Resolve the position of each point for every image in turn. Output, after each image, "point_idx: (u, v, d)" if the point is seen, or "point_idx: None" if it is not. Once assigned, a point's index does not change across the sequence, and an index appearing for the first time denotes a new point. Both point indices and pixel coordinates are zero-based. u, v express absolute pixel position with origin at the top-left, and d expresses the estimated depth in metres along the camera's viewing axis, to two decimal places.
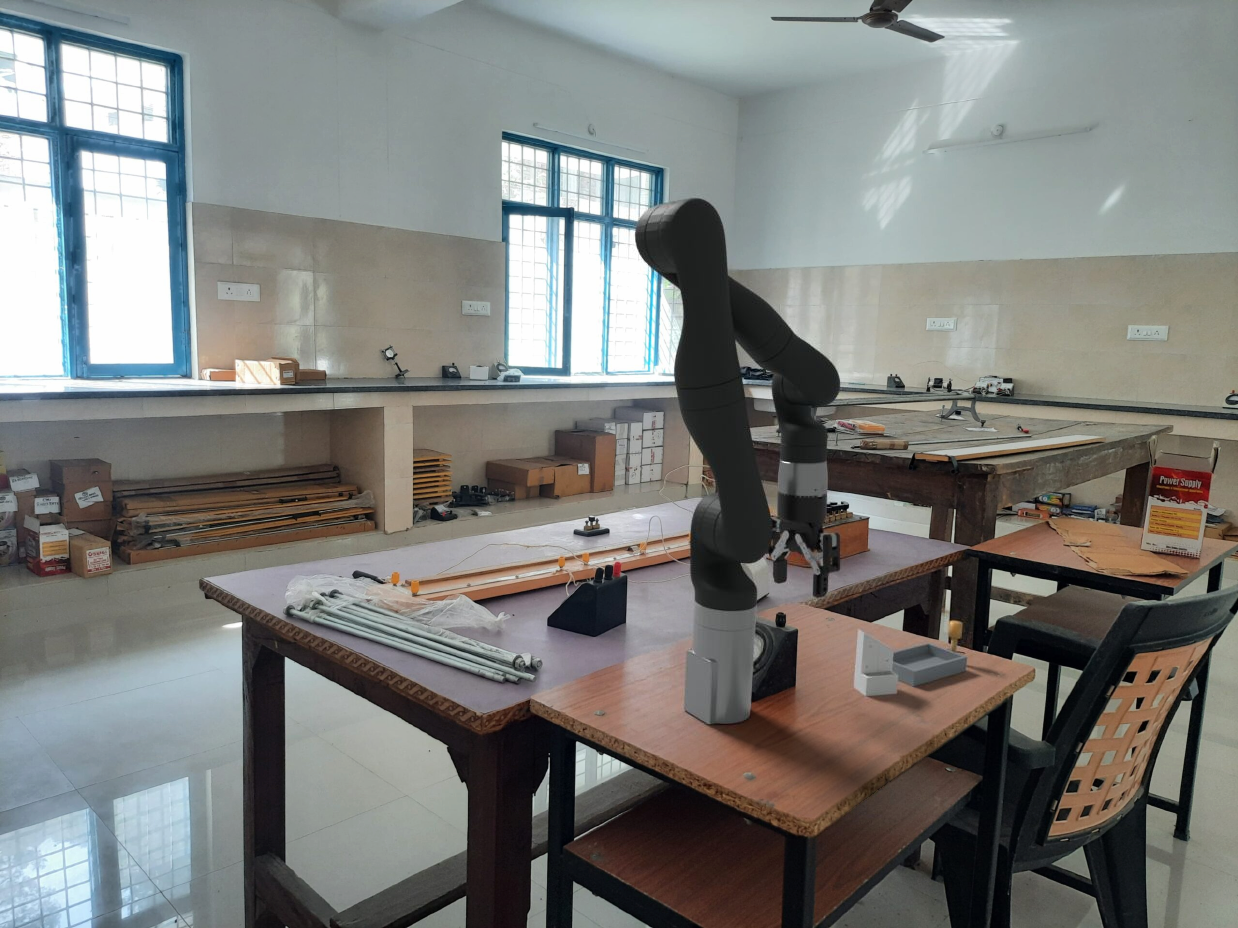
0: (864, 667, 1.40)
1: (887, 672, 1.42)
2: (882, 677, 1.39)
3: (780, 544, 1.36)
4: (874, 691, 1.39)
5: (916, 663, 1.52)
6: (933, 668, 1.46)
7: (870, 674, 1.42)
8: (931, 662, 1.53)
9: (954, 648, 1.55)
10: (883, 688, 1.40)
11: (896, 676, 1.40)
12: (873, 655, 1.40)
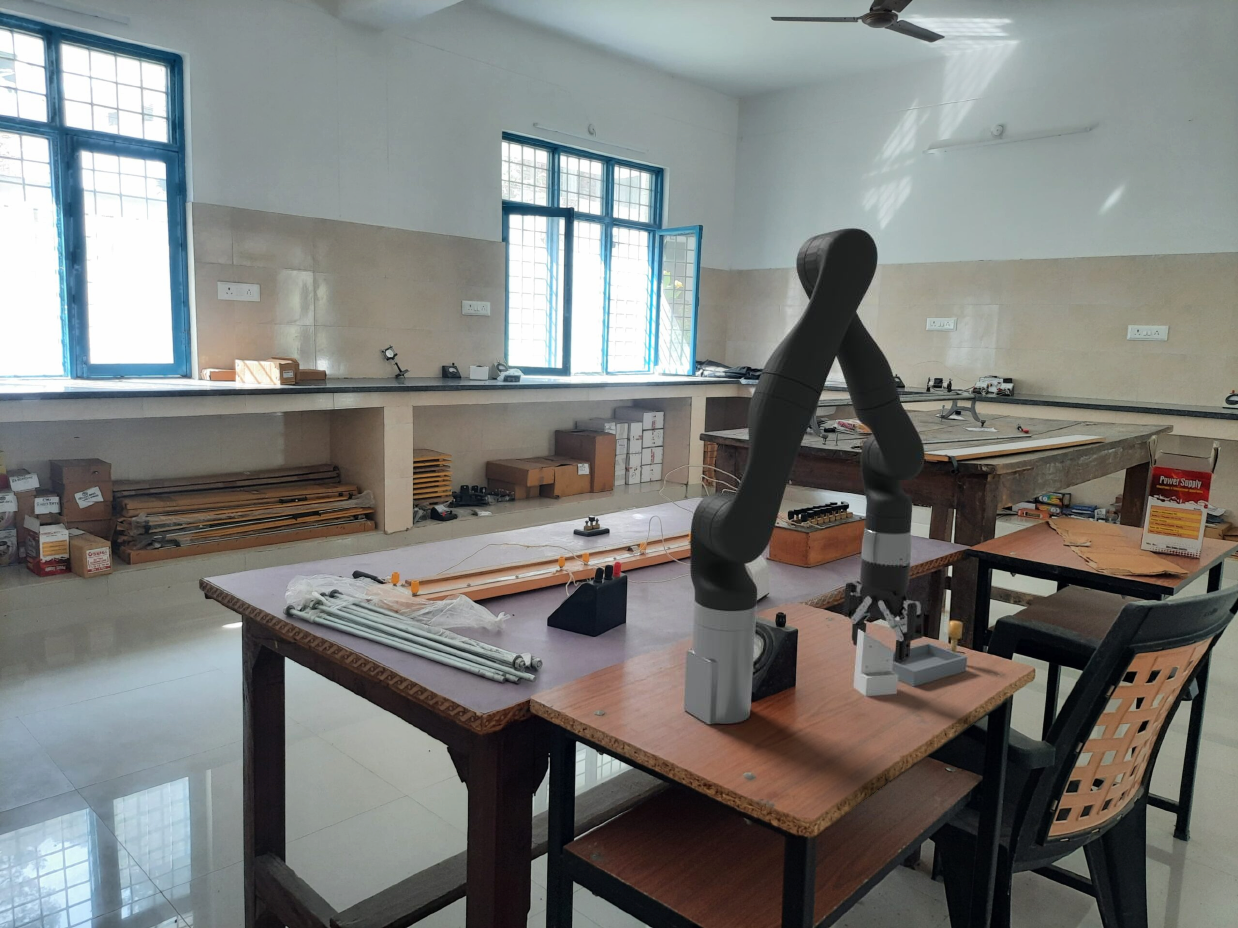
0: (864, 667, 1.40)
1: (887, 672, 1.42)
2: (882, 677, 1.39)
3: (861, 609, 1.41)
4: (874, 691, 1.39)
5: (916, 663, 1.52)
6: (933, 668, 1.46)
7: (870, 674, 1.42)
8: (931, 662, 1.53)
9: (954, 648, 1.55)
10: (883, 688, 1.40)
11: (896, 676, 1.40)
12: (873, 655, 1.40)
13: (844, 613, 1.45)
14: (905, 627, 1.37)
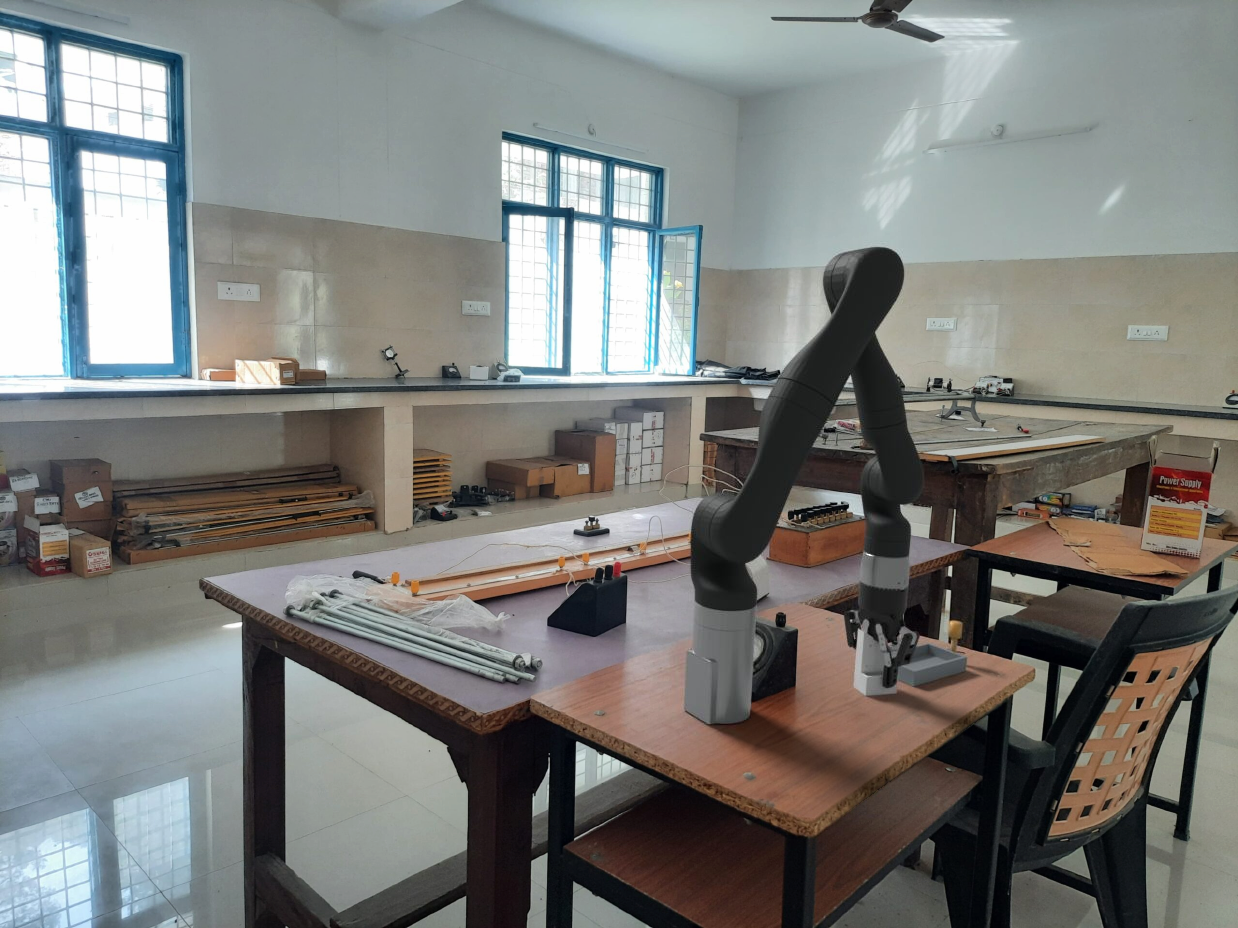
0: (864, 666, 1.40)
1: None
2: (882, 677, 1.39)
3: None
4: (874, 691, 1.39)
5: (916, 663, 1.52)
6: (933, 668, 1.46)
7: (870, 674, 1.42)
8: (931, 662, 1.53)
9: (954, 648, 1.55)
10: (883, 688, 1.40)
11: None
12: (873, 655, 1.40)
13: (849, 644, 1.44)
14: (895, 653, 1.38)
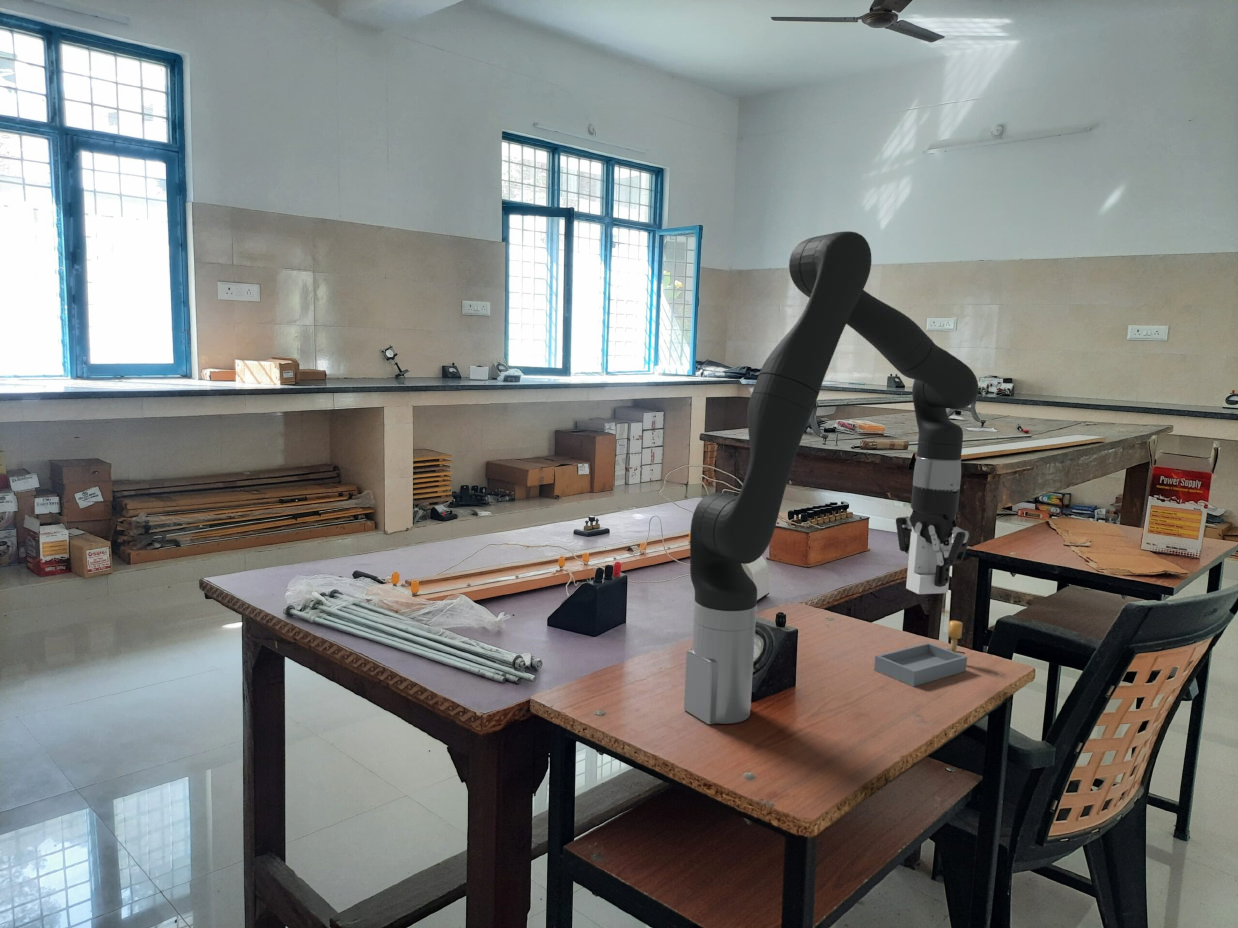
0: (917, 567, 1.47)
1: None
2: (934, 576, 1.46)
3: None
4: (927, 589, 1.46)
5: (916, 663, 1.52)
6: (933, 668, 1.46)
7: (922, 575, 1.50)
8: (931, 662, 1.53)
9: (954, 648, 1.55)
10: (935, 587, 1.47)
11: None
12: (925, 556, 1.48)
13: (901, 548, 1.51)
14: (947, 553, 1.46)
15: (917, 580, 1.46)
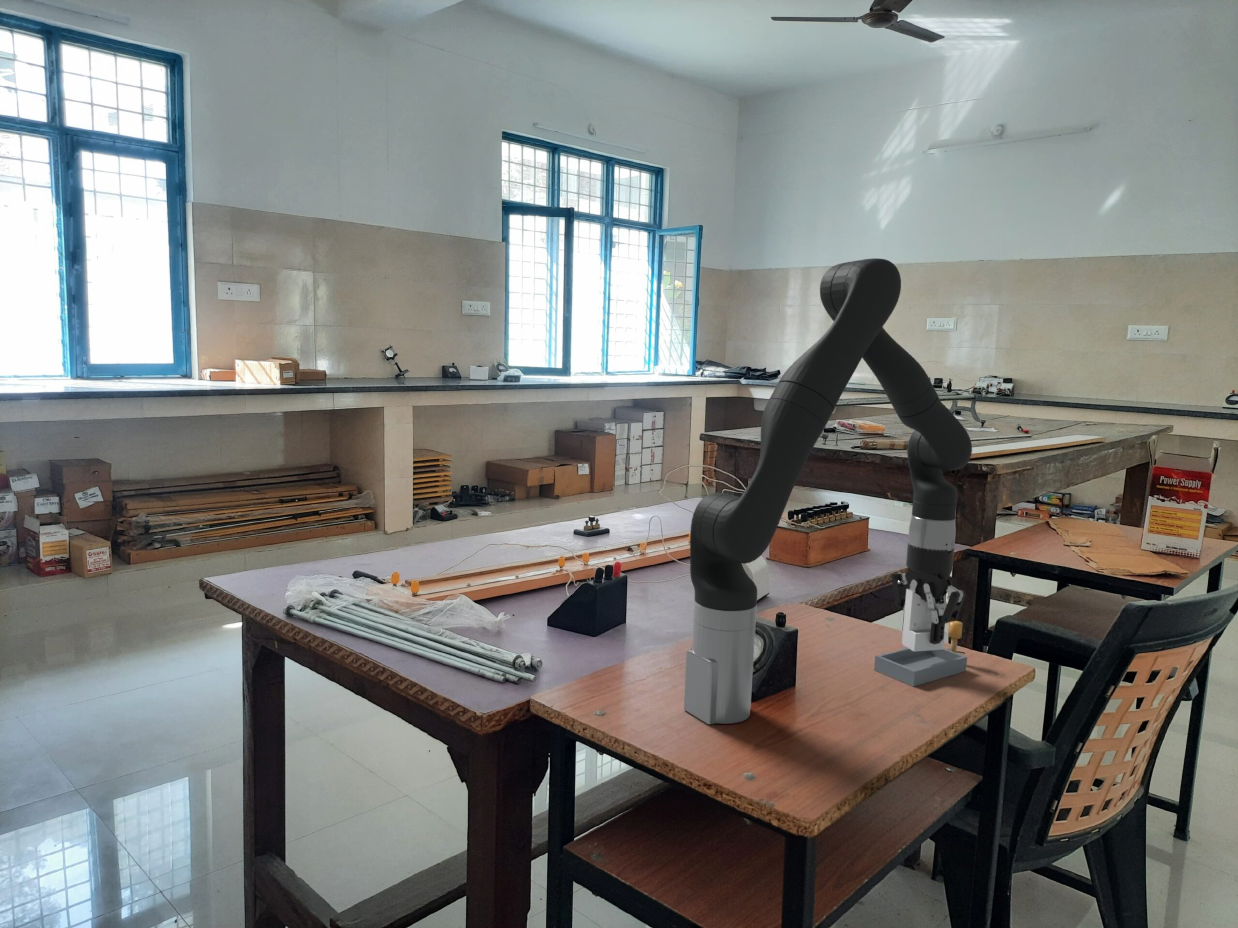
0: (912, 624, 1.49)
1: None
2: (929, 633, 1.48)
3: None
4: (922, 647, 1.48)
5: (916, 663, 1.52)
6: (933, 668, 1.46)
7: (917, 631, 1.51)
8: (931, 662, 1.53)
9: (954, 648, 1.55)
10: (930, 644, 1.48)
11: None
12: (921, 613, 1.49)
13: (896, 604, 1.53)
14: (942, 611, 1.47)
15: (912, 637, 1.48)
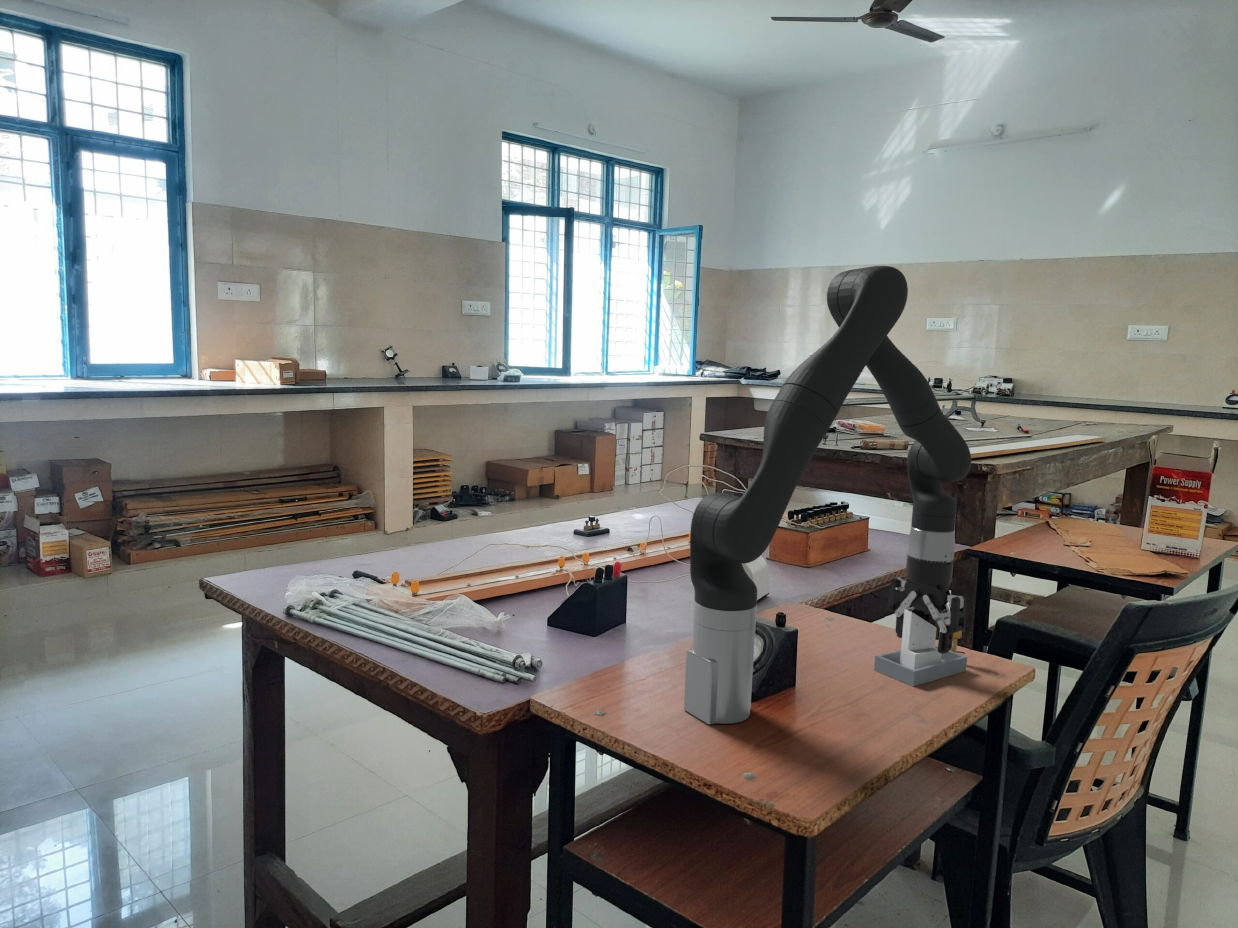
0: (911, 644, 1.49)
1: (930, 649, 1.52)
2: (928, 653, 1.48)
3: (906, 603, 1.50)
4: (921, 666, 1.48)
5: None
6: (933, 668, 1.46)
7: (914, 651, 1.51)
8: None
9: (954, 648, 1.55)
10: (929, 663, 1.49)
11: None
12: (919, 633, 1.49)
13: (888, 607, 1.54)
14: (948, 620, 1.46)
15: (912, 657, 1.48)
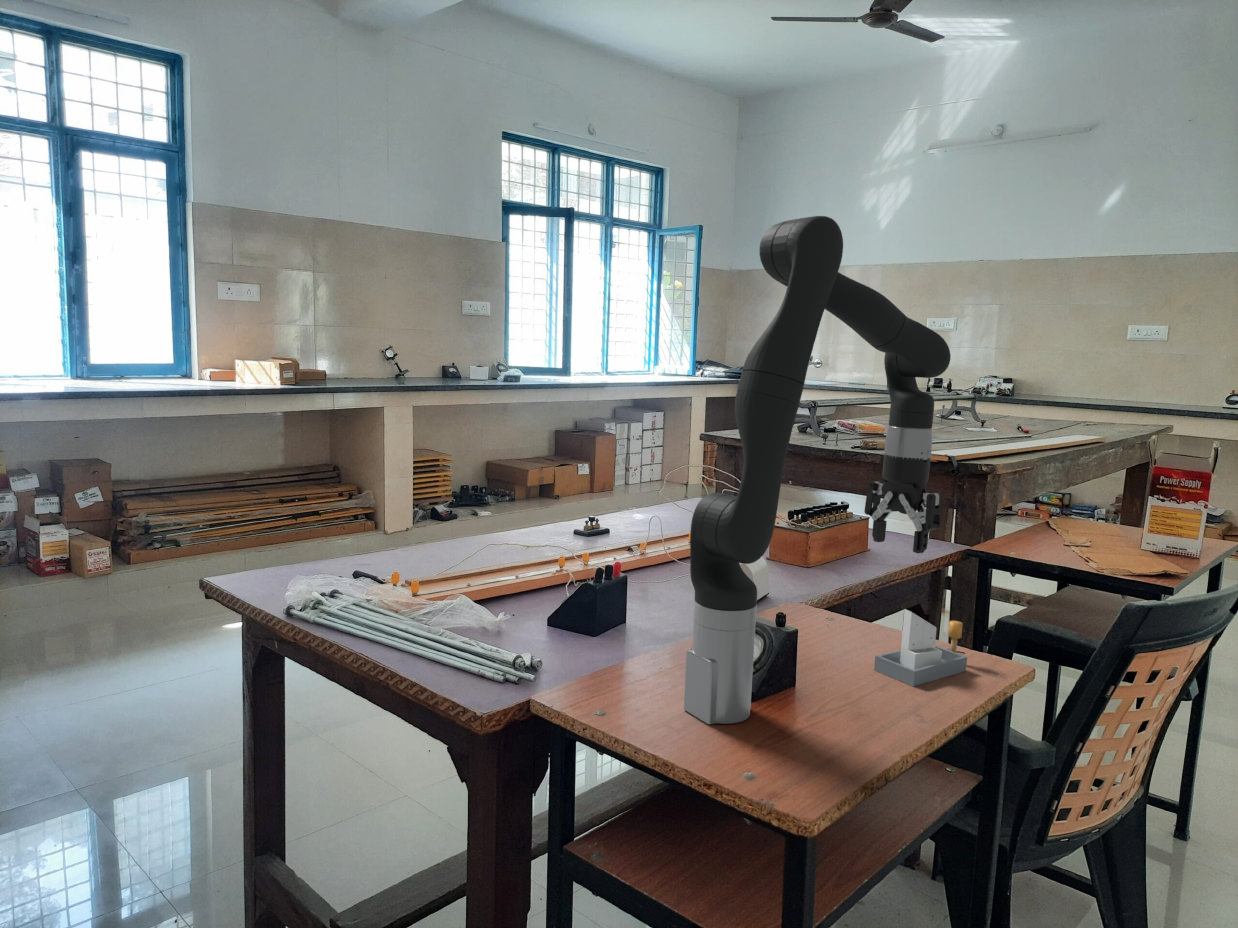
0: (911, 644, 1.49)
1: (930, 649, 1.52)
2: (928, 653, 1.48)
3: (882, 504, 1.49)
4: (921, 666, 1.48)
5: None
6: (933, 668, 1.46)
7: (914, 651, 1.51)
8: None
9: (954, 648, 1.55)
10: (929, 663, 1.49)
11: (940, 652, 1.49)
12: (919, 633, 1.49)
13: (866, 511, 1.53)
14: (924, 520, 1.45)
15: (912, 657, 1.48)
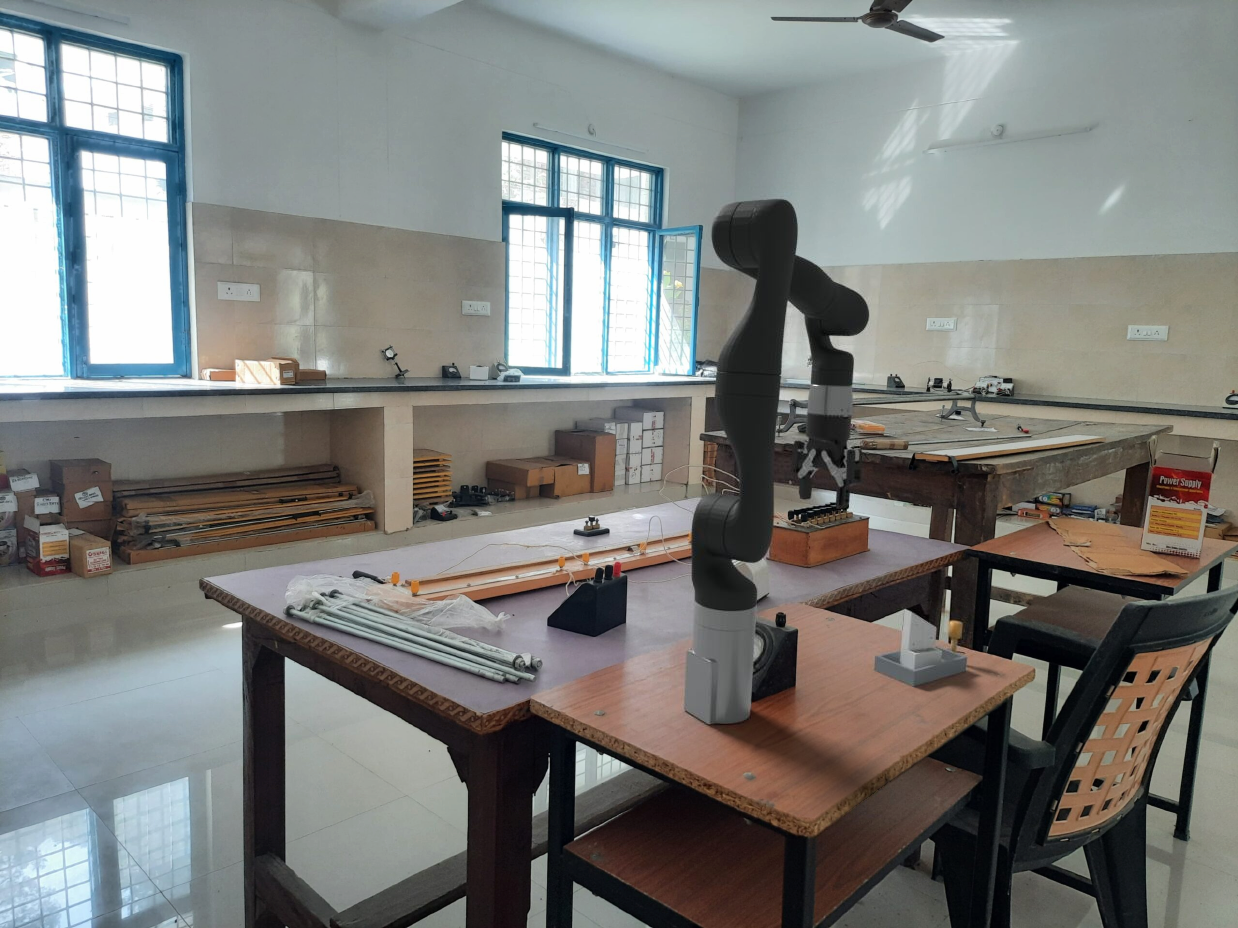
0: (911, 644, 1.49)
1: (930, 649, 1.52)
2: (928, 653, 1.48)
3: (807, 462, 1.52)
4: (921, 666, 1.48)
5: None
6: (933, 668, 1.46)
7: (914, 651, 1.51)
8: None
9: (954, 648, 1.55)
10: (929, 663, 1.49)
11: (940, 652, 1.49)
12: (919, 633, 1.49)
13: (792, 470, 1.56)
14: (846, 475, 1.48)
15: (912, 657, 1.48)
